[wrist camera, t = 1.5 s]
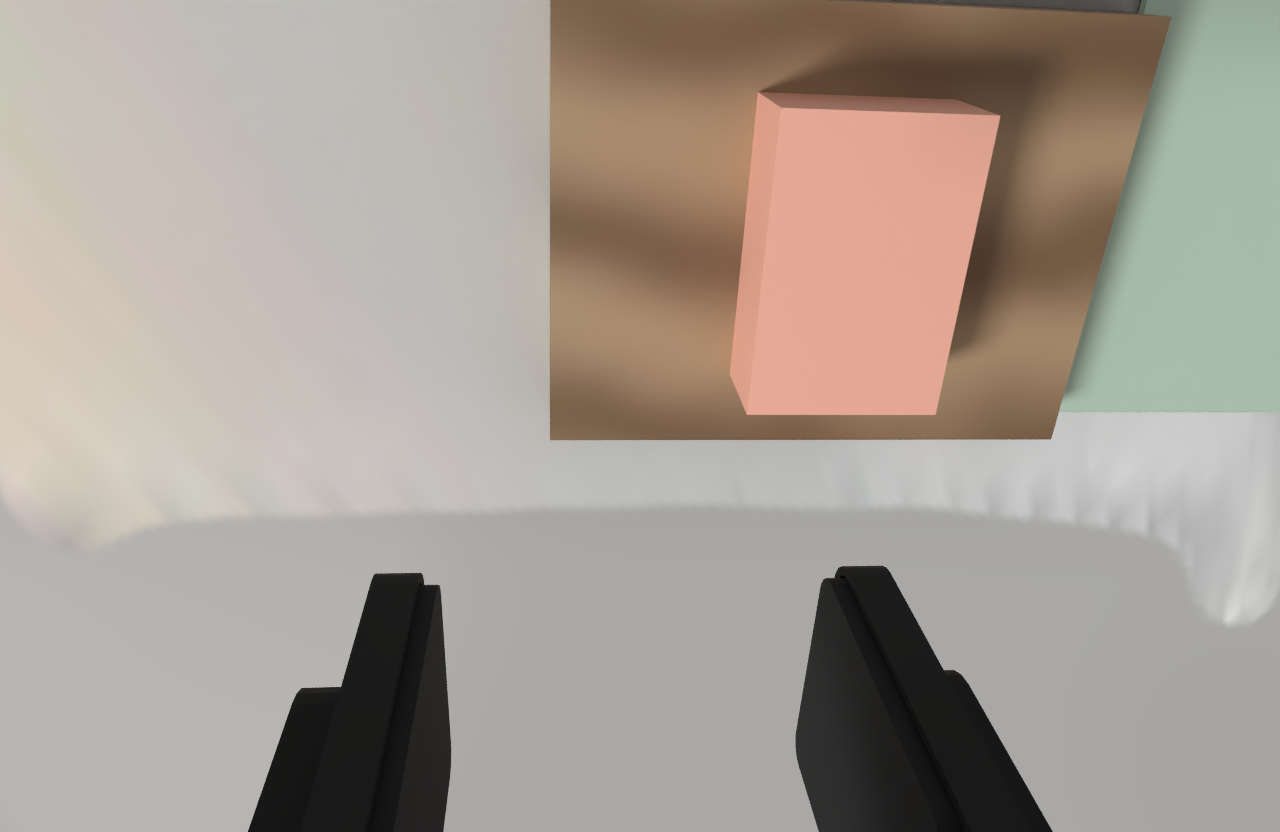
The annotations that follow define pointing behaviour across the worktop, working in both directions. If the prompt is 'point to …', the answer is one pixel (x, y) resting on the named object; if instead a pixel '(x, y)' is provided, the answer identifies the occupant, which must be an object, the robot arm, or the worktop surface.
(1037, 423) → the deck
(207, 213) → the worktop surface
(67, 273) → the worktop surface
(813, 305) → the pink rectangular block
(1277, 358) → the mat
